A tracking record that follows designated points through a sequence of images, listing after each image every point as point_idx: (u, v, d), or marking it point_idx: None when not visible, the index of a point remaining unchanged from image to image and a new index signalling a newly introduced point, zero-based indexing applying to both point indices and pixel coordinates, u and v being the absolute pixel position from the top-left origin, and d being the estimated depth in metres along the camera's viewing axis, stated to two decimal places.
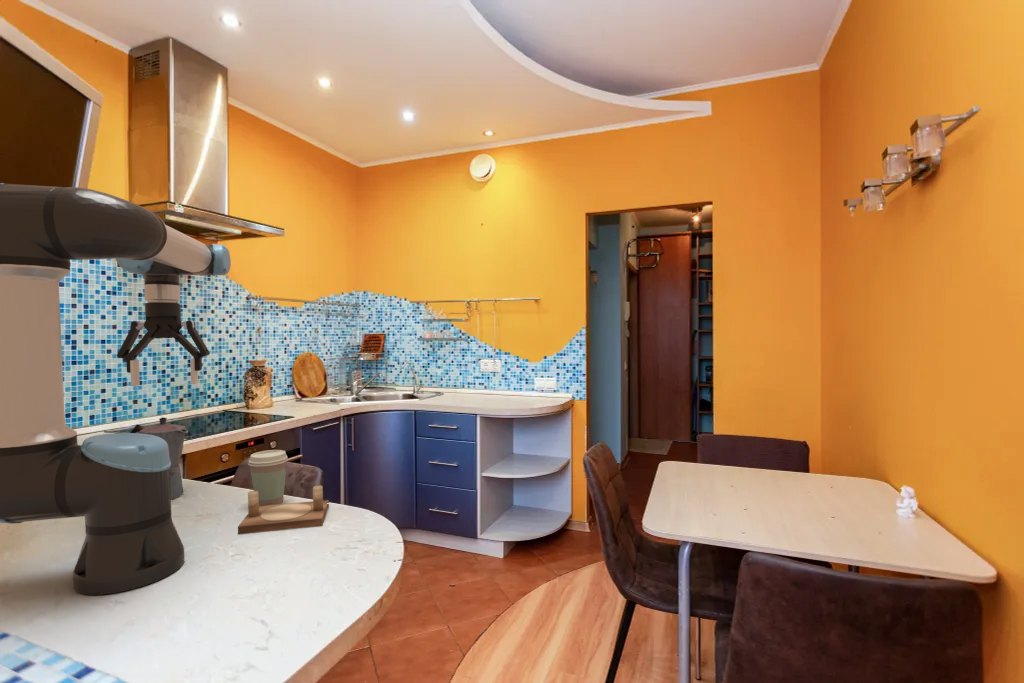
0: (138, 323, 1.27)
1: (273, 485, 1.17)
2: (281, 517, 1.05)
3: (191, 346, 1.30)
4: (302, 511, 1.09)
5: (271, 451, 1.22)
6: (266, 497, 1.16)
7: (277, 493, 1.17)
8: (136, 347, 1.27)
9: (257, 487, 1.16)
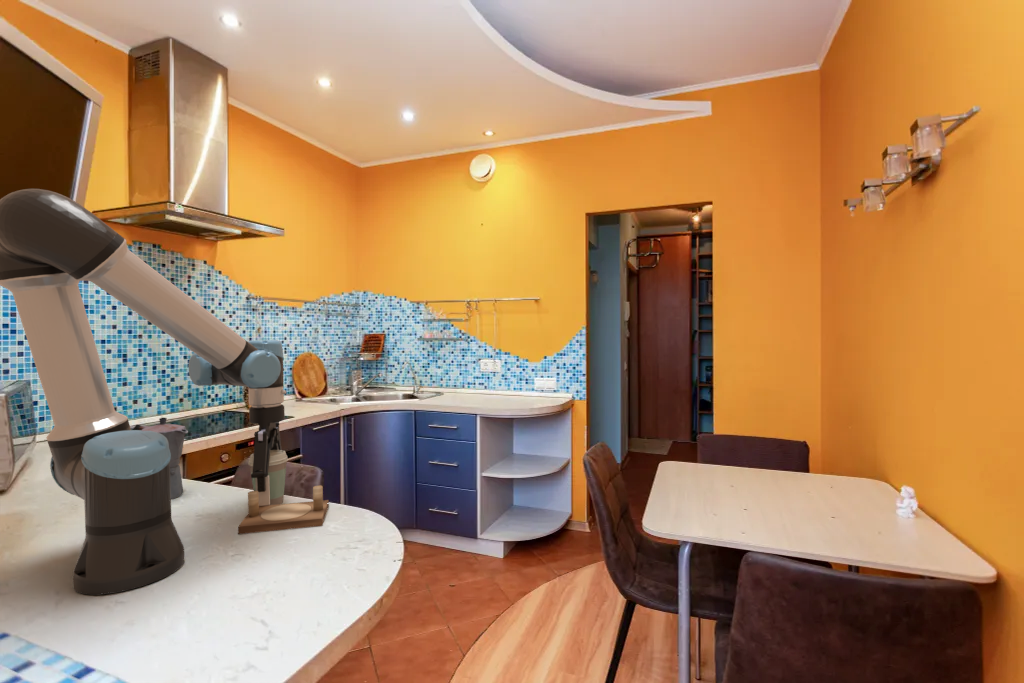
0: None
1: (273, 485, 1.17)
2: (281, 517, 1.05)
3: None
4: (302, 511, 1.09)
5: (271, 451, 1.22)
6: None
7: (277, 493, 1.17)
8: None
9: None
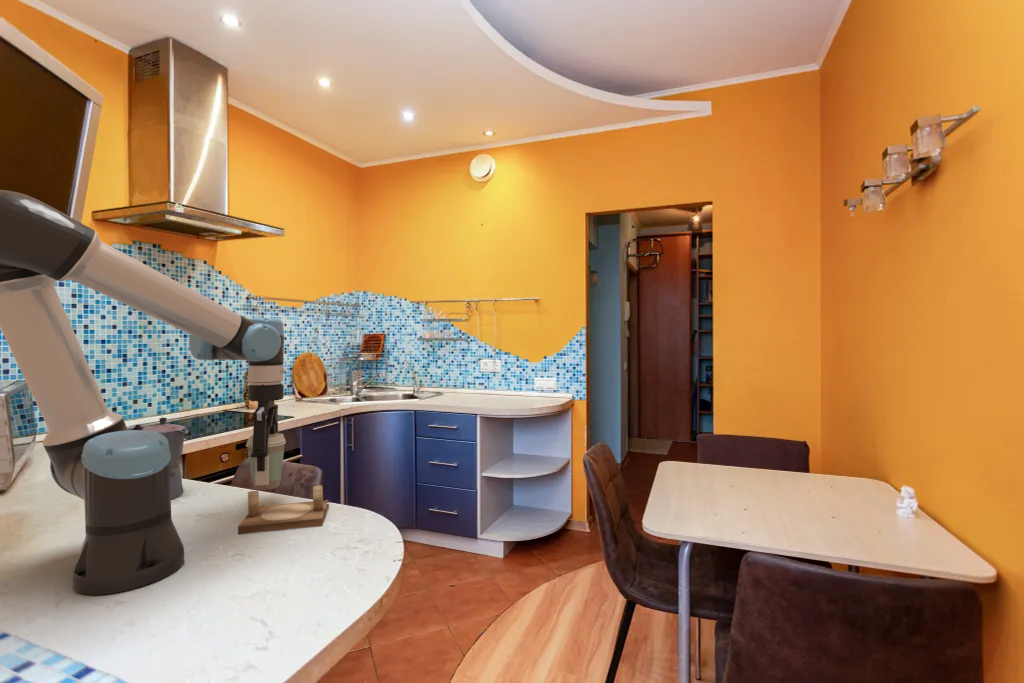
0: None
1: (270, 467, 1.16)
2: (281, 517, 1.05)
3: None
4: (302, 511, 1.09)
5: (269, 434, 1.22)
6: None
7: (274, 475, 1.17)
8: None
9: (254, 469, 1.15)
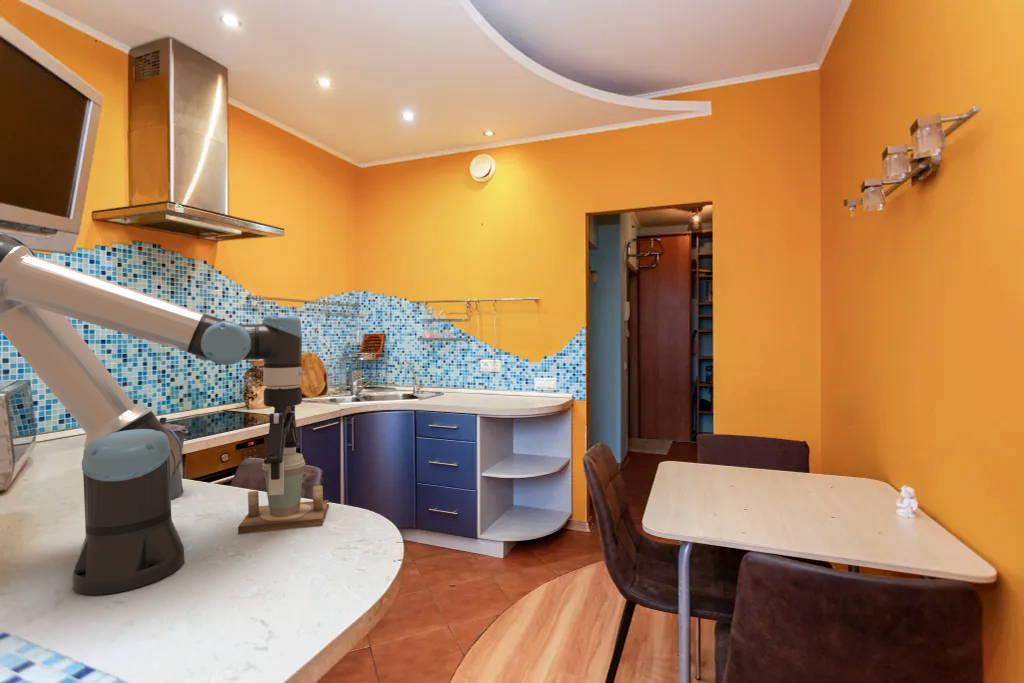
0: None
1: (289, 491, 1.06)
2: (281, 517, 1.05)
3: None
4: (302, 511, 1.09)
5: (286, 454, 1.12)
6: (282, 505, 1.06)
7: (293, 500, 1.07)
8: None
9: None
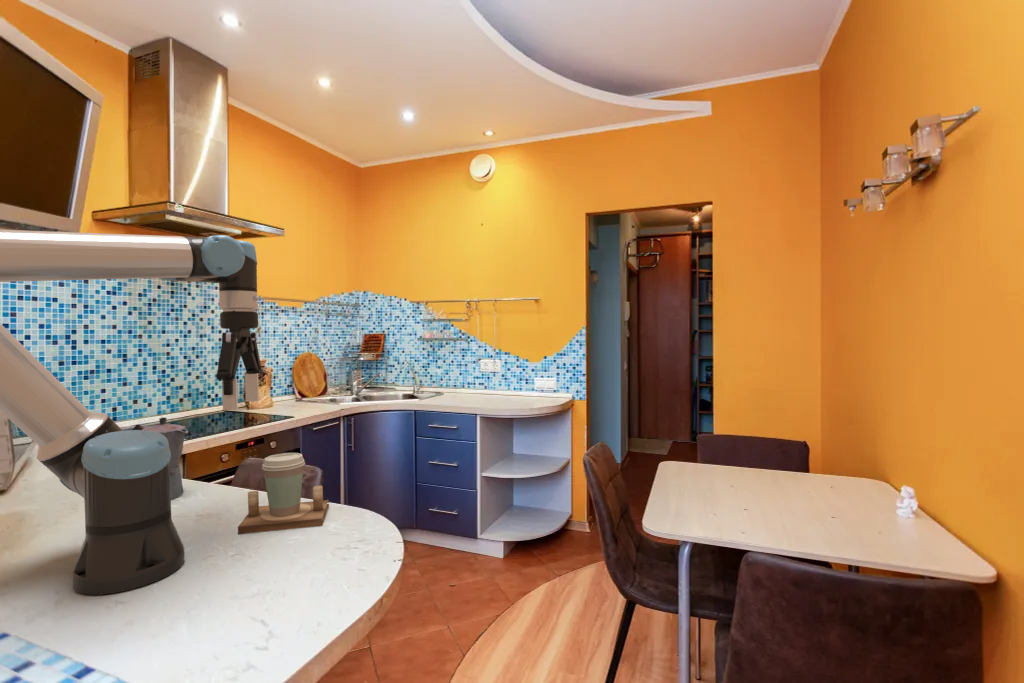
0: None
1: (289, 491, 1.06)
2: (281, 517, 1.05)
3: None
4: (302, 511, 1.09)
5: (286, 454, 1.11)
6: (282, 505, 1.06)
7: (293, 500, 1.07)
8: None
9: (272, 494, 1.05)
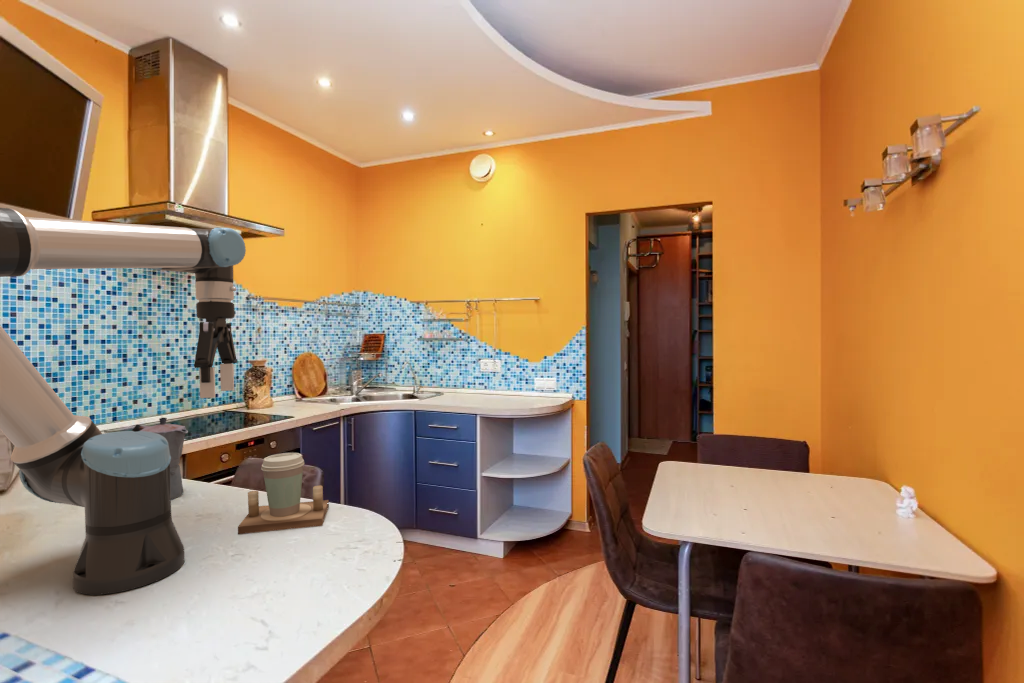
0: None
1: (289, 492, 1.06)
2: (281, 517, 1.05)
3: None
4: (302, 511, 1.09)
5: (285, 454, 1.11)
6: (282, 505, 1.05)
7: (293, 500, 1.07)
8: None
9: (271, 494, 1.05)
